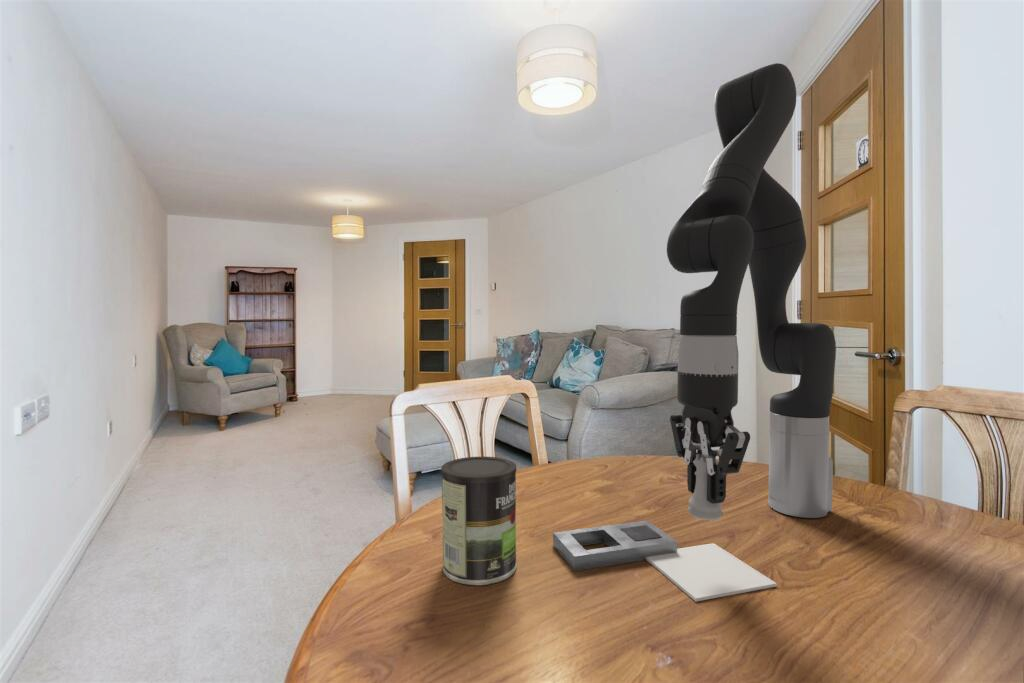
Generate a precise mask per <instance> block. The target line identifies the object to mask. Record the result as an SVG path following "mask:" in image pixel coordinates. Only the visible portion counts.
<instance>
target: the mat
mask: <svg viewBox="0 0 1024 683" xmlns="http://www.w3.org/2000/svg"><path fill="white" fill-rule="evenodd" d="M645 561H647V562H648V563H649V564H651V566H653V567H654V568H655V569H656V570H658V571H659V572H660V573H661V574H662V575H664V576H665V577H666V578H667V579H668V580H669V581H670V582H671V583H673V584H674V585H675V586H677V588H679V589H680V590H681V591H683V593H684V594H686V595H687V596H688V597H689V598H691V599H692V600H693V601H694V602H696V603H697V602H701V601H706V600H711V599H716V598H721V597H722V598H723V597H728V596H733V595H739V594H744V593H748V592H755V591H759V590H765V589H771V588H775V587H777V585H778V584H777V583H776V582H775V581H774V580H772V579H771V578H769V577H767V576H766V575H764V574H763V573H761V572H760V571H758V570H757V569H755V568H753V567H751V566H750V565H748V564H747V563H746V562H744V561H743V560H740V559H739V558H737V557H736V556H734V555H733V554H731V553H730V552H728V551H726V550H725V549H724V548H721V547H720V546H719V545H717V544H715V543H714V542H712V543H707V544H698V545H694V546H686V547H681V548H680V547H679V548H678V547H677V552H676V553H670V554H663V555H657V556H650V557H646V560H645Z"/></svg>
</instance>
